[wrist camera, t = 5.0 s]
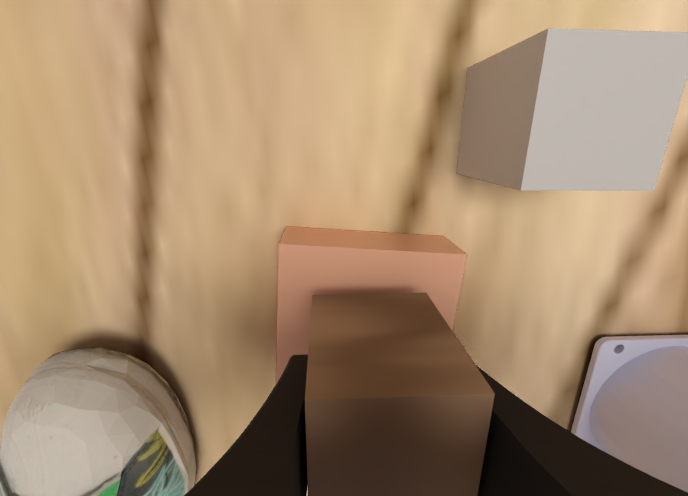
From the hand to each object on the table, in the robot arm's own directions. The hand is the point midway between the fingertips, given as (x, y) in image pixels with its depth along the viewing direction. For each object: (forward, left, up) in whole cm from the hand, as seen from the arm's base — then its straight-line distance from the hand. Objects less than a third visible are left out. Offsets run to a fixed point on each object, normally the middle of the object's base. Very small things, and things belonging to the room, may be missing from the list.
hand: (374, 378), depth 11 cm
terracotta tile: (0, 0, -6) cm, 6 cm away
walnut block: (0, 0, -2) cm, 2 cm away
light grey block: (-6, -8, -5) cm, 11 cm away
